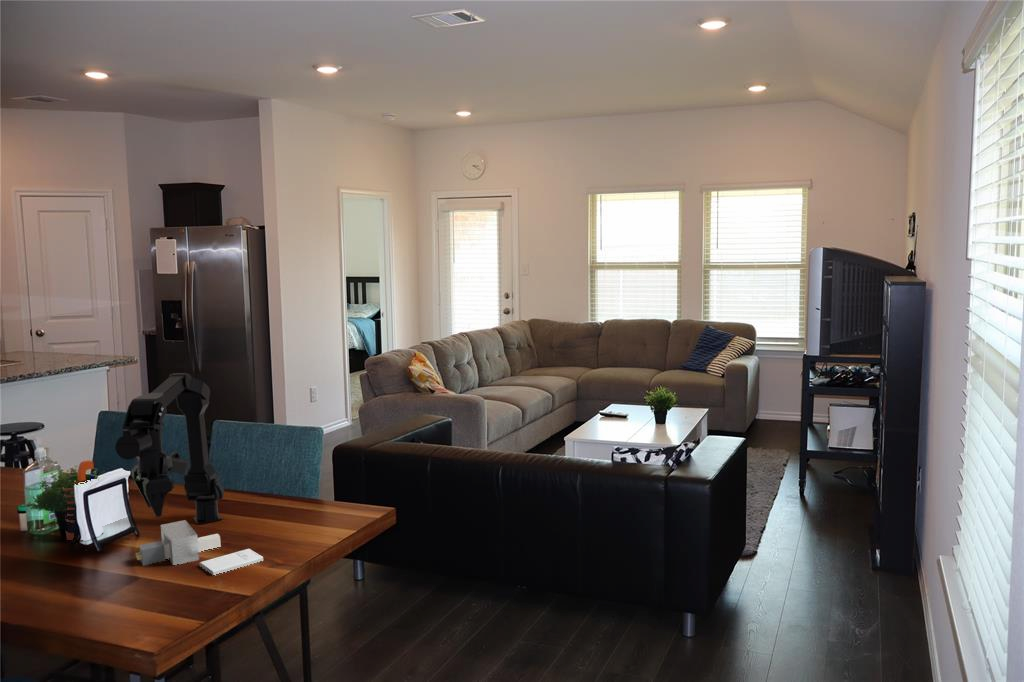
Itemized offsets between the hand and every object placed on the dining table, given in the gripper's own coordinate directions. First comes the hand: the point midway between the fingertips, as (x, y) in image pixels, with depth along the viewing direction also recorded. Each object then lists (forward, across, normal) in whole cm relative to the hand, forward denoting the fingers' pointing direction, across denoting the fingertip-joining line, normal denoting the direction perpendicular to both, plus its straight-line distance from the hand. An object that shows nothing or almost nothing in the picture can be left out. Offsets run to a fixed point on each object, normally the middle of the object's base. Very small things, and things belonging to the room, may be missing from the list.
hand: (154, 511), depth 198 cm
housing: (+12, 0, -5) cm, 13 cm away
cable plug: (+12, 0, -5) cm, 13 cm away
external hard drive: (+13, -14, -14) cm, 23 cm away
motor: (+12, +32, +12) cm, 36 cm away
